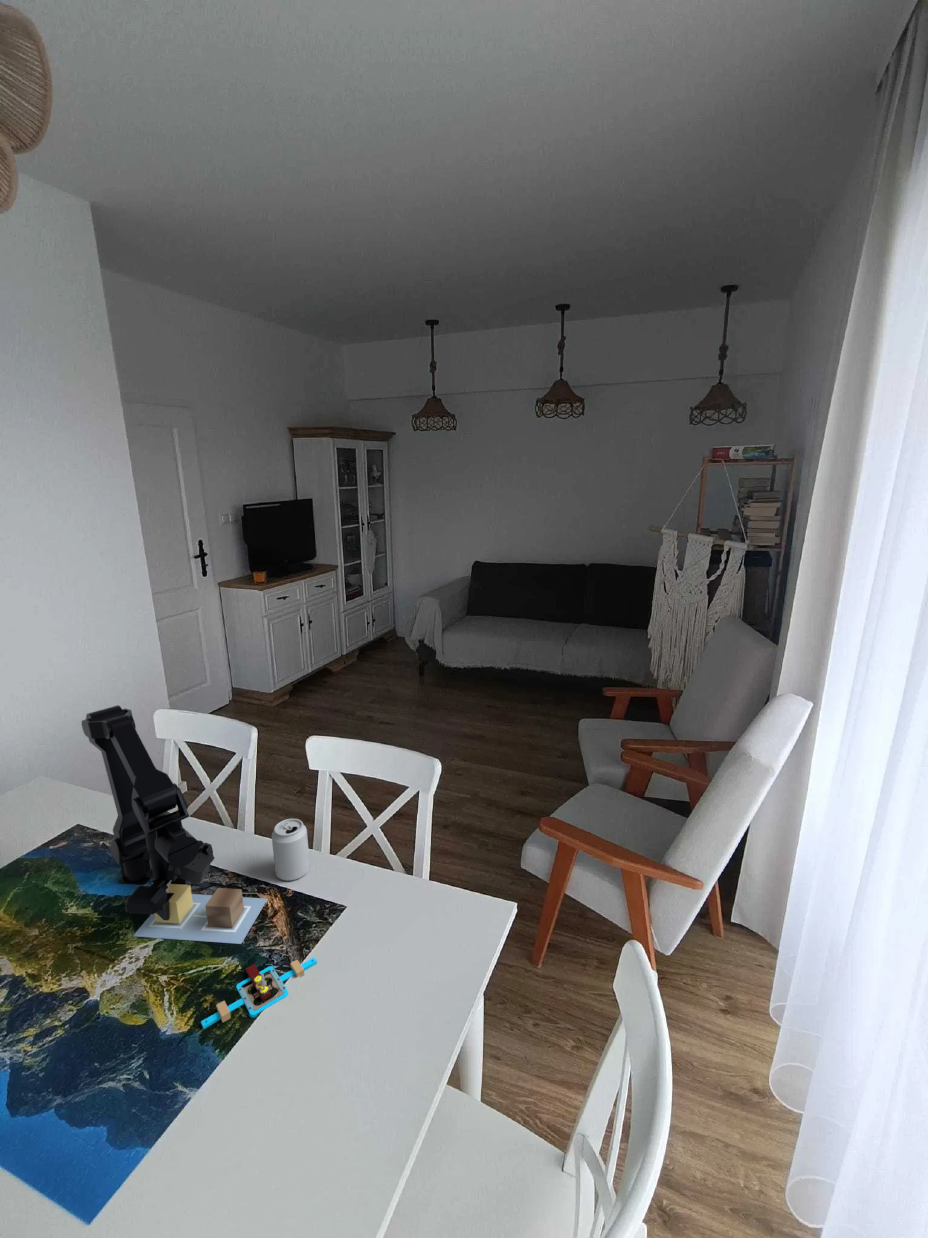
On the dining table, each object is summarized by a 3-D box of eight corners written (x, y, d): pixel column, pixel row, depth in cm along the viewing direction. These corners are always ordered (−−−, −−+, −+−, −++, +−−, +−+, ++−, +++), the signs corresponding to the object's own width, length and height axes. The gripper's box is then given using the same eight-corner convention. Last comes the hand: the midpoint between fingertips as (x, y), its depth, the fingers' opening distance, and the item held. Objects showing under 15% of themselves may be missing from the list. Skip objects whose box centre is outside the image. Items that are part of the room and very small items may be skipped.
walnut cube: (208, 927, 115) (205, 905, 114) (220, 908, 120) (218, 888, 118) (232, 928, 114) (229, 907, 113) (244, 910, 119) (241, 889, 118)
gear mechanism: (193, 1006, 99) (210, 1047, 92) (189, 981, 97) (206, 1020, 90) (303, 946, 111) (325, 977, 104) (300, 922, 110) (323, 953, 103)
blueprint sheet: (133, 937, 113) (132, 935, 113) (169, 894, 124) (169, 892, 124) (241, 945, 111) (241, 943, 111) (267, 900, 122) (267, 898, 122)
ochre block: (155, 922, 116) (152, 901, 114) (170, 904, 121) (167, 883, 119) (179, 923, 115) (176, 902, 114) (193, 905, 120) (190, 885, 119)
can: (289, 888, 126) (284, 840, 123) (268, 874, 130) (263, 828, 127) (317, 870, 131) (313, 823, 128) (296, 857, 136) (292, 812, 133)
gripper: (174, 878, 104) (186, 949, 108) (226, 817, 122) (234, 880, 126) (116, 874, 105) (130, 945, 109) (176, 815, 123) (185, 877, 127)
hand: (174, 910), depth 118 cm, fingers closed on ochre block, 5 cm apart
